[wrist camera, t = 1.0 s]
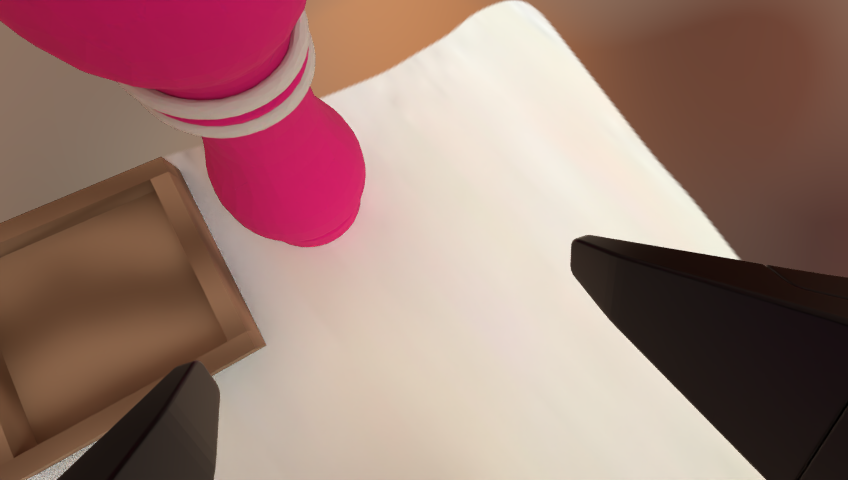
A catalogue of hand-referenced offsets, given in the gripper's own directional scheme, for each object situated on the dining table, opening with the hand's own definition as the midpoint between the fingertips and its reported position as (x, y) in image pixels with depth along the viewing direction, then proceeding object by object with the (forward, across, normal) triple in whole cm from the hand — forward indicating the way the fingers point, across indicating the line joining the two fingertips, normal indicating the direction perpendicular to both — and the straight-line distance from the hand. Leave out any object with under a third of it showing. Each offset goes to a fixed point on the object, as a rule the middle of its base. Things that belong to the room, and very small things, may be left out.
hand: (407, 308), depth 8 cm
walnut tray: (+13, +14, +4) cm, 20 cm away
